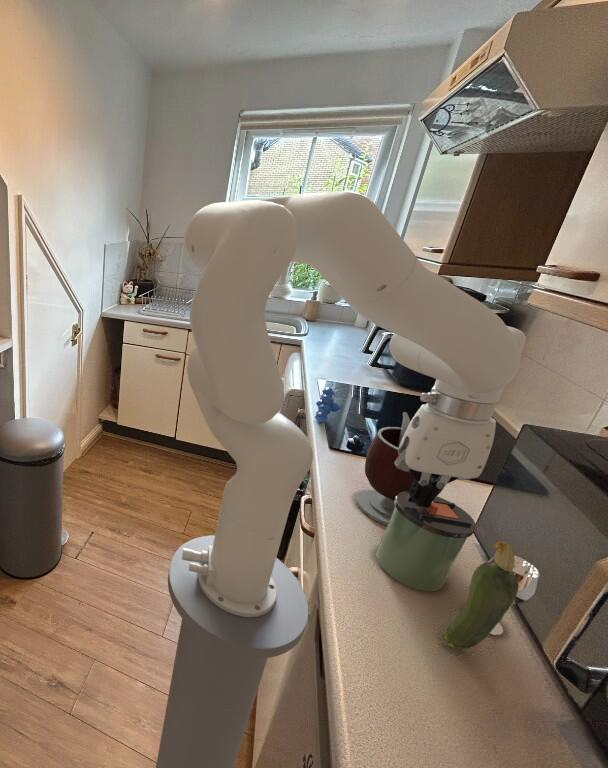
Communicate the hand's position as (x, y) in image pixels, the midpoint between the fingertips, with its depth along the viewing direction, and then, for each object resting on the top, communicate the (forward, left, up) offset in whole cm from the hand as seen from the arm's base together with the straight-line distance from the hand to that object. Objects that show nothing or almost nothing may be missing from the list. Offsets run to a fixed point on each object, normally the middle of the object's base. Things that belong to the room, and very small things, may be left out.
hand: (418, 501), depth 69 cm
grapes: (+2, +58, -14) cm, 60 cm away
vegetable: (+3, -16, -14) cm, 22 cm away
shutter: (+3, 0, -1) cm, 3 cm away
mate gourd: (+6, +18, -14) cm, 24 cm away
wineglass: (+10, -9, -14) cm, 20 cm away
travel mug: (+3, 0, -14) cm, 14 cm away
